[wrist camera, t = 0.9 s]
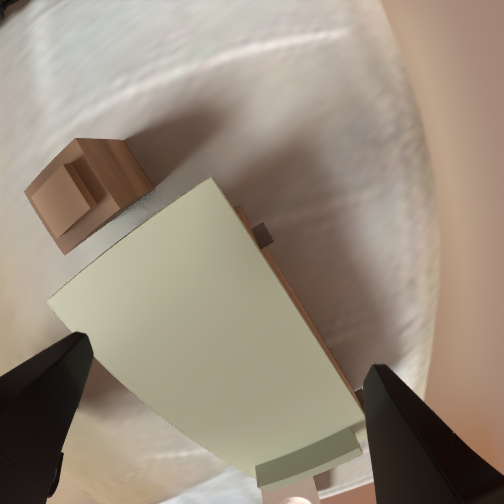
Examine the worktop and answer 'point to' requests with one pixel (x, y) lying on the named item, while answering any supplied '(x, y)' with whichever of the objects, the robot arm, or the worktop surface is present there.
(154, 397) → the lid
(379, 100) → the worktop surface
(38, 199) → the brown stepped square block
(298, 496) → the bracket
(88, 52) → the worktop surface
